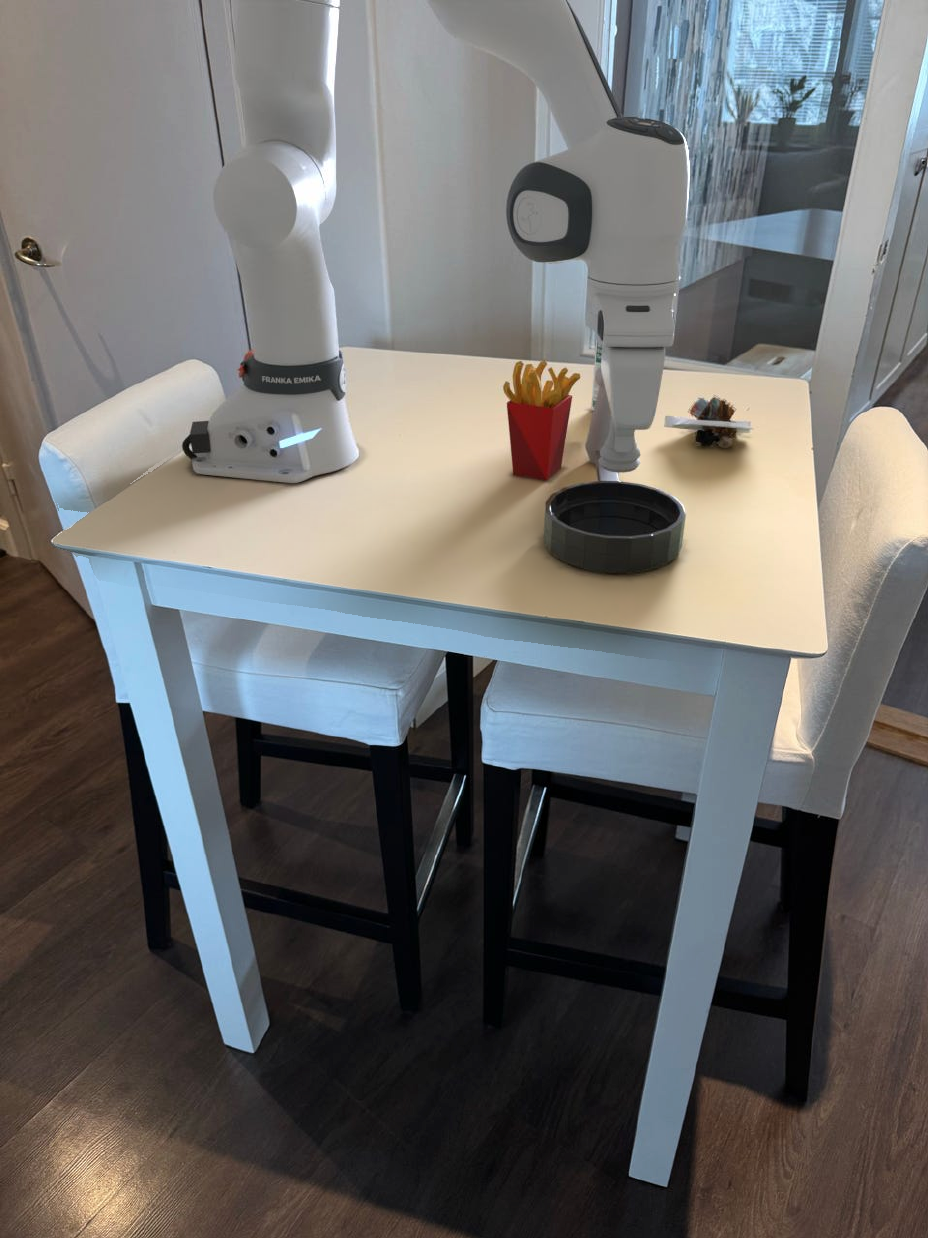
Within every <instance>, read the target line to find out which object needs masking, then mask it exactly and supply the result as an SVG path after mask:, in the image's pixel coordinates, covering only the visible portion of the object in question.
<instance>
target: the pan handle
mask: <svg viewBox="0 0 928 1238" xmlns="http://www.w3.org/2000/svg"><path fill="white" fill-rule="evenodd" d="M600 458H601V455H600V450H595V464H596V465H595V469H596V470H595V471H596V477H597V481H620V480H619V475H618V472H611V471H608V470H605V469H604V468H602V467H601V465H600V464H599V459H600Z"/></svg>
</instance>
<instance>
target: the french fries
mask: <svg viewBox="0 0 928 1238" xmlns="http://www.w3.org/2000/svg"><path fill="white" fill-rule="evenodd" d="M547 366H548V362H547V361H546V359H545V360H542V361H540V362H539V363H538V365H537V367H534V365H533V364H532V363H528V364H525V367H524V363H523V361H522V360H519V361H517V362H515V365H514V367H513V371H512V385H513V390H512V389H511V383H510V382H509V381H505V382H504V384H503V385H502V390H503V393H504V394H505V396H506V397H507V399H508V400H509V401H507V402H506V410H507V422H508V433H509V445H510V454H511V465H512V474H513V476H518V477H523V478H530V479H534V480H539V481H545V482H548V481H549V480H550V479H551V478H552V477H553V476H554V475H556V474H557V473H558V472H559V471H561V469H562V465H563V458H564V453H565V445H566V440H567V433H568V427H569V426H568V425H569V421H570V414H571V407H572V402H573V395H572V394H570V392H571V390H572V388H573V386H574V385H575V384H576V383H577V382H578V381H579V380H580V379H581V373H578V372H577V373H576V372H574V373H573V374H571V375H570V377H567V376H566V375H567V373H568V372H569V369H568V368H567V367H564V368H562V369H561V370H560V371H559V373H558V374H557V373H556V371H555V369H554V367H553V366H551V367H549V368H547V371H548V372H549V375H550V377H551V380H546V381H545V383H544V386H543V384H542V374H543V372H544V370H545V369H546V367H547ZM523 368H524V370H523ZM522 370H523V374H522ZM521 375H522V378H521ZM513 391H514V392H513Z"/></svg>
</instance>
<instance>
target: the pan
mask: <svg viewBox="0 0 928 1238" xmlns="http://www.w3.org/2000/svg"><path fill="white" fill-rule="evenodd" d="M686 517H687V513H686V510H685V507H684V504H683V503H682V502H681V501H679V500H678V499H677V498H676V497H675V496H674V495H672V494H669V493H667V492H666V491H664V490H661V489H659V488H656V487H653V486H649V485H646V484H643V483H642V484H641V483H636V482H629V481H621V480H619V481H598V480H595V481H594V480H593V481H587V482H579V483H576V484H572V485H568V486H564V487H561V488H559V489H558V490H557V491H555V492H552V493H551V494H550V495H549V497H548V498H547V499H546V501H545V502H544V517H543V519H544V521H543V544H544V545H545V547H546V548H547V550H548V551H549V552H550V554H551V555H553V556H555V557H556V558H558V559H559V560H561V561H563V562H564V563H567V564H570V565H571V566H573V567H578V568H580V569H583V570H587V571H590V572H591V571H592V572H596V573H604V574H633V573H641V572H646V571H650V570H654V569H656V568H660V567H663V566H665V565H667V564H669V563H670V562H672V561H673V560H675V558H677V557H678V556H679V554H680V553H681V550H682V546H683V543H684V542H683V541H684V533H685V524H686Z"/></svg>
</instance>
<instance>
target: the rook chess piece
mask: <svg viewBox="0 0 928 1238" xmlns="http://www.w3.org/2000/svg"><path fill="white" fill-rule="evenodd" d="M609 416H610V418H611V425H610V430H609V435H608V438H607V441H606V442H605V445H604V446H603V447H602V448H601V450H600V455H601V458H600V459H599V464H600V465H601V467H602V468H604V469H605V470H608V471H611V472H617V473H621V474H622V473H629V472H633V471H635V470H636V469H637V468H639V466H640V464H641V460H640V459H639V458H640V457H641V450H640V449H639V447H638V443H637V442H636V439H635V438H636V437H635V434H634V435H633V443H632V450H631V451H630V452H628V453H626V452H616V451H615V449H614V431H615V427H614V425H613V420H612V416H611V414H610V415H609Z"/></svg>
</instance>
